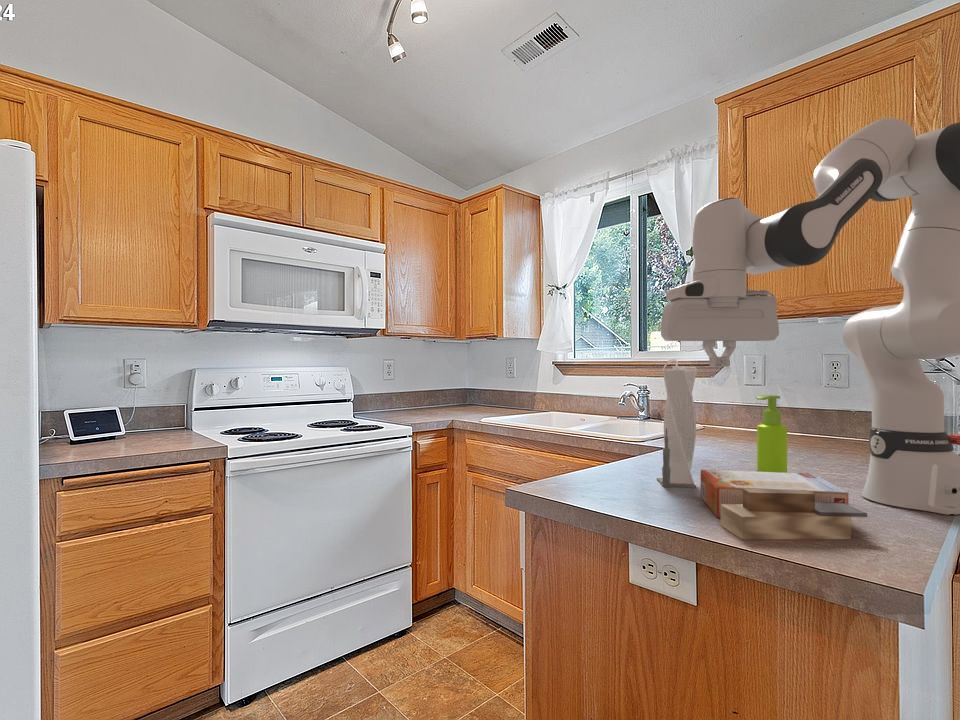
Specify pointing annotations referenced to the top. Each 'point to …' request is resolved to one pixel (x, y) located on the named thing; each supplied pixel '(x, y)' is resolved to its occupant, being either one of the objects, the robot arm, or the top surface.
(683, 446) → the skyscraper
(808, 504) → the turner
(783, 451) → the soap dispenser
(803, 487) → the cracker box
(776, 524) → the beech board
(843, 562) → the top surface
